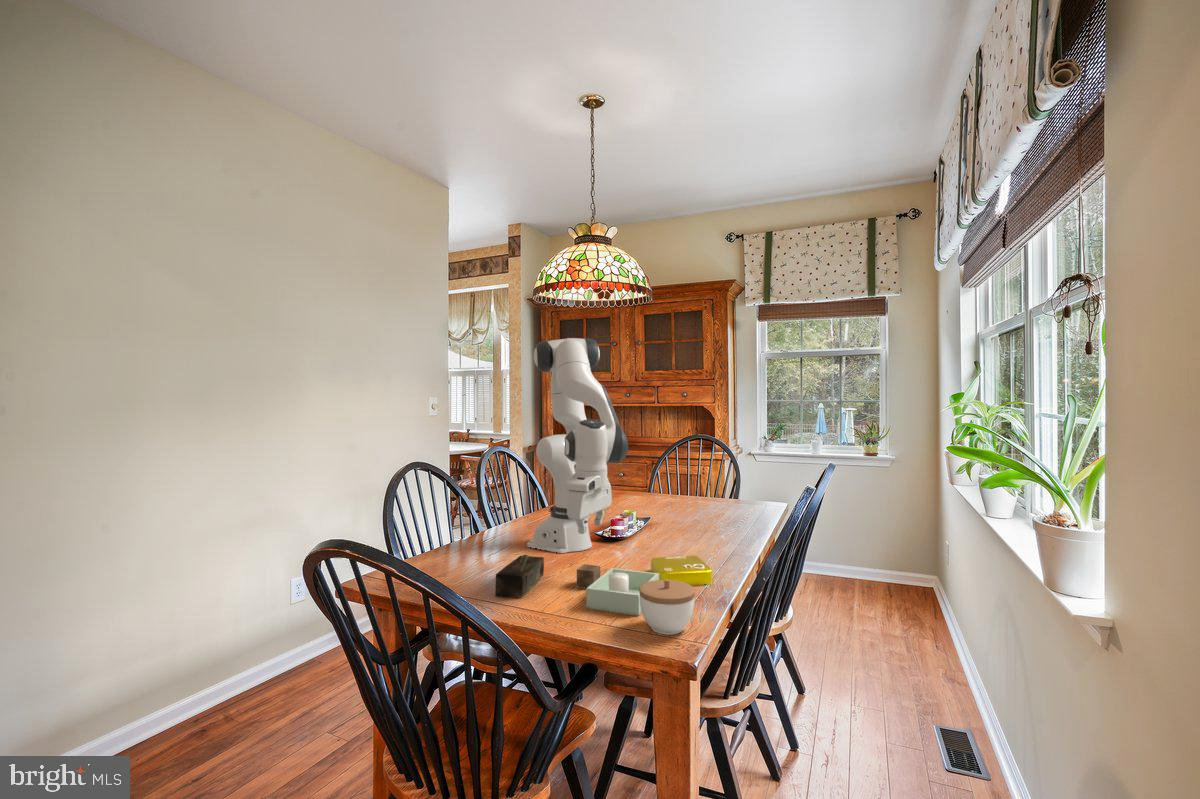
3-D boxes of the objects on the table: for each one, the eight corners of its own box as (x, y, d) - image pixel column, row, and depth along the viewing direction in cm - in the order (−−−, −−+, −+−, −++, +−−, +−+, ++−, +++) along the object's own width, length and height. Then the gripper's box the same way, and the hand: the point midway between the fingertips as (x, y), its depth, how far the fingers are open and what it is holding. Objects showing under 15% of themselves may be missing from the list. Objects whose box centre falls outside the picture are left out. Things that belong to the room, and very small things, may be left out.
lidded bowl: (705, 627, 133) (705, 579, 133) (674, 645, 124) (674, 594, 124) (660, 613, 142) (660, 568, 142) (628, 629, 132) (628, 581, 132)
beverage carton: (545, 576, 170) (545, 554, 170) (522, 600, 151) (522, 575, 151) (519, 574, 172) (519, 552, 172) (494, 598, 153) (493, 573, 153)
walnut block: (576, 587, 161) (576, 569, 160) (584, 581, 165) (583, 564, 165) (593, 589, 159) (593, 571, 159) (600, 583, 163) (600, 566, 163)
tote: (586, 608, 145) (586, 588, 145) (611, 585, 161) (611, 567, 161) (638, 616, 140) (638, 595, 140) (659, 592, 156) (659, 573, 156)
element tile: (697, 569, 177) (697, 553, 177) (714, 586, 162) (714, 568, 162) (649, 571, 175) (649, 555, 175) (662, 589, 160) (661, 571, 160)
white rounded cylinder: (613, 598, 150) (612, 571, 150) (631, 600, 148) (631, 573, 148) (606, 605, 146) (605, 577, 145) (624, 608, 144) (624, 580, 143)
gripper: (598, 472, 171) (597, 519, 171) (562, 484, 153) (562, 536, 153) (617, 474, 168) (616, 522, 169) (583, 486, 150) (583, 539, 150)
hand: (590, 529), depth 161 cm, fingers open, 8 cm apart
